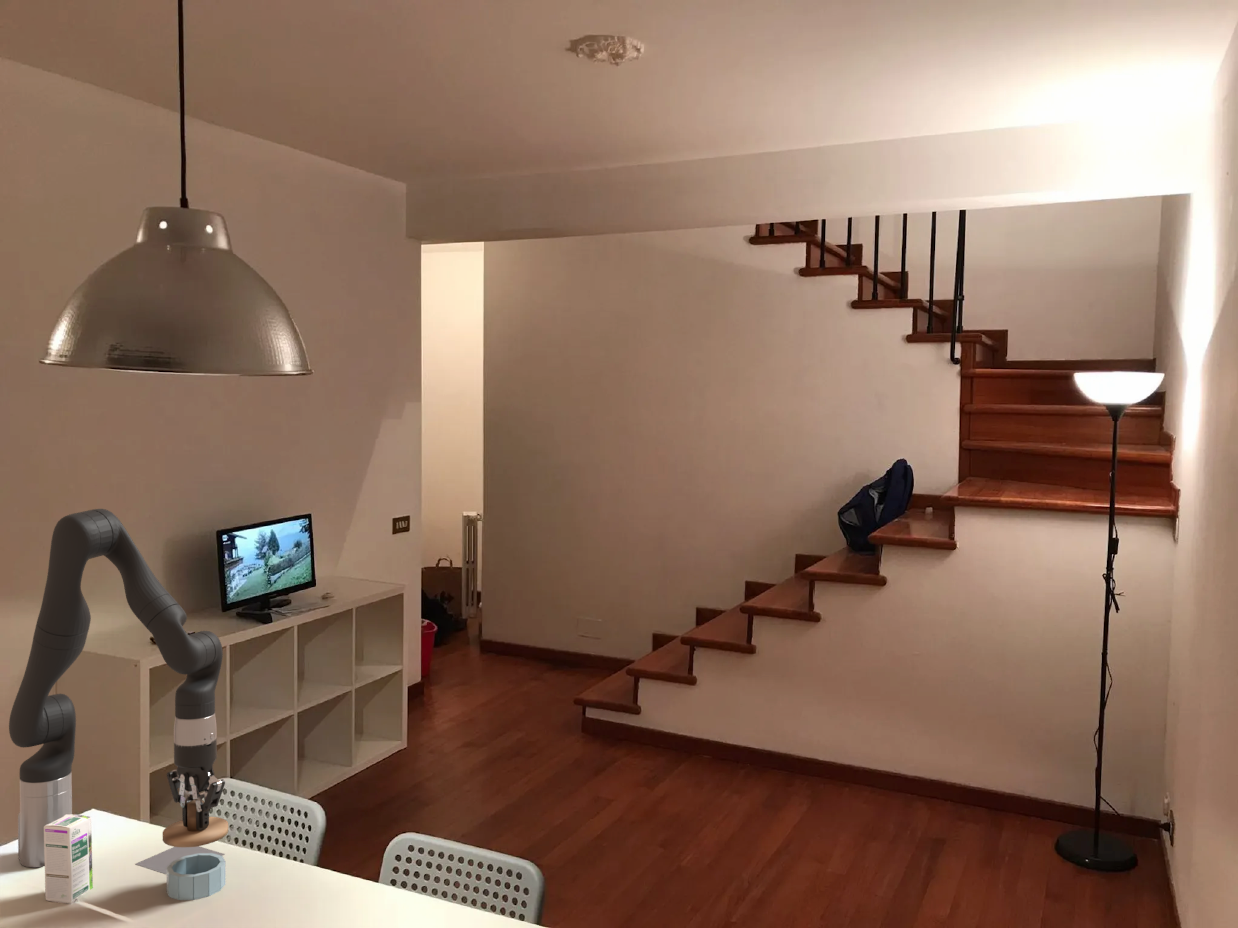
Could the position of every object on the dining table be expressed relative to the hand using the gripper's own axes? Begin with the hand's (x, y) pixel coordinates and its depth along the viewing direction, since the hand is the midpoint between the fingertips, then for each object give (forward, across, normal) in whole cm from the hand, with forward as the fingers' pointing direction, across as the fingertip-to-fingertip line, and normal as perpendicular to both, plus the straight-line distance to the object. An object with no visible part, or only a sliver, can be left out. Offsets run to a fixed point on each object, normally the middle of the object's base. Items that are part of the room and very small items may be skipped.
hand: (195, 826), depth 191 cm
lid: (+3, 0, 0) cm, 3 cm away
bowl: (+12, 0, 0) cm, 12 cm away
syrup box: (+13, -19, -13) cm, 26 cm away
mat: (+12, -13, +7) cm, 19 cm away
